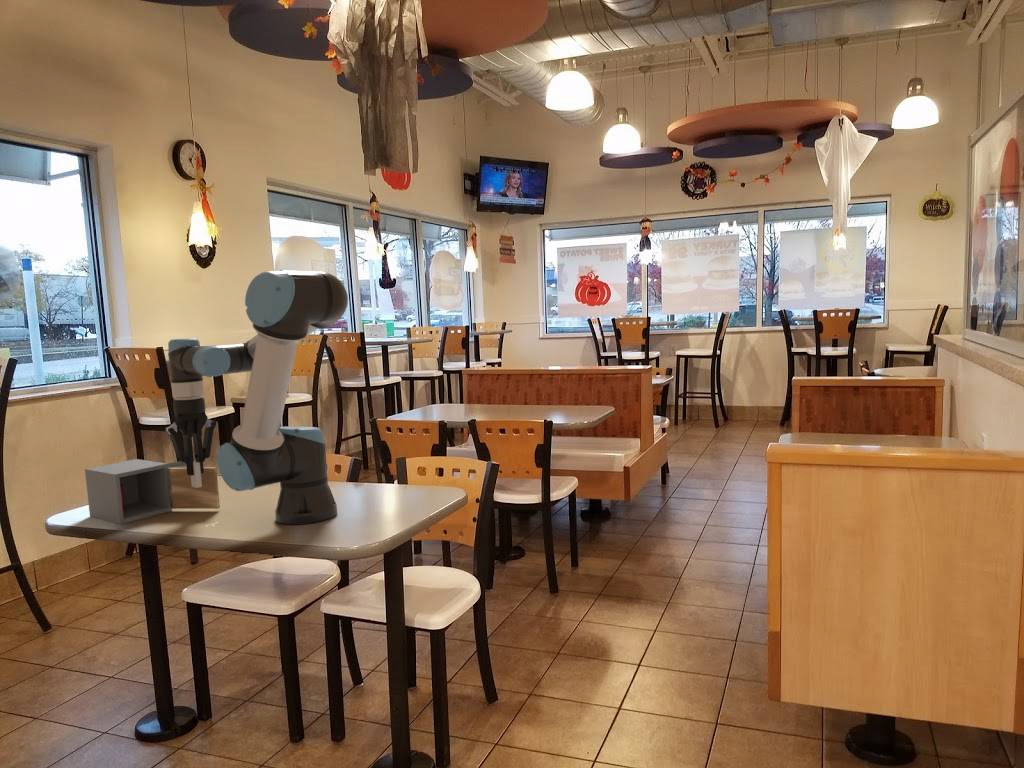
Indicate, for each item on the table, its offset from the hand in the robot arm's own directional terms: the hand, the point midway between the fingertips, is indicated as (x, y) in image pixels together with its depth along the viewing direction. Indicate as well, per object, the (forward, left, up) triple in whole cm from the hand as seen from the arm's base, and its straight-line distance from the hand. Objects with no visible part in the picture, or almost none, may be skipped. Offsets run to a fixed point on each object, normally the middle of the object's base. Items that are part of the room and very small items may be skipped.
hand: (196, 486), depth 192 cm
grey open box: (+19, +8, -8) cm, 22 cm away
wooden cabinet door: (+5, -2, -7) cm, 9 cm away
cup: (+23, -8, -8) cm, 26 cm away
